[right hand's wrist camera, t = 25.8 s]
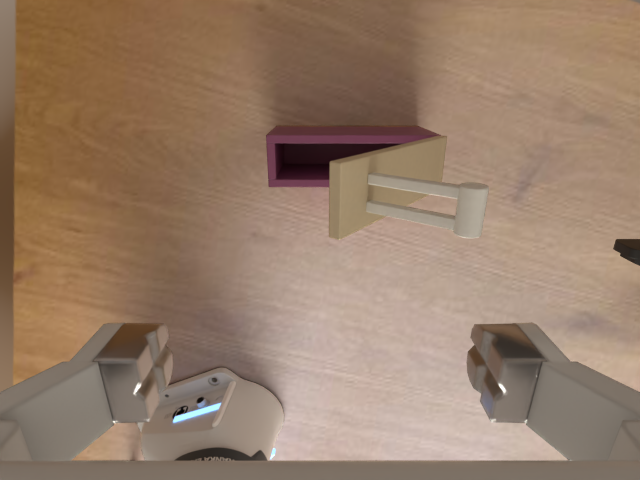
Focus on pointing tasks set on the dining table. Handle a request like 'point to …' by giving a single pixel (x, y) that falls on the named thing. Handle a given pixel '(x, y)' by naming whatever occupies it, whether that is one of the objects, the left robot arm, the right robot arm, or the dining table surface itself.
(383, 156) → the lid
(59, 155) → the dining table surface
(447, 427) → the dining table surface
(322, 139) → the chest
